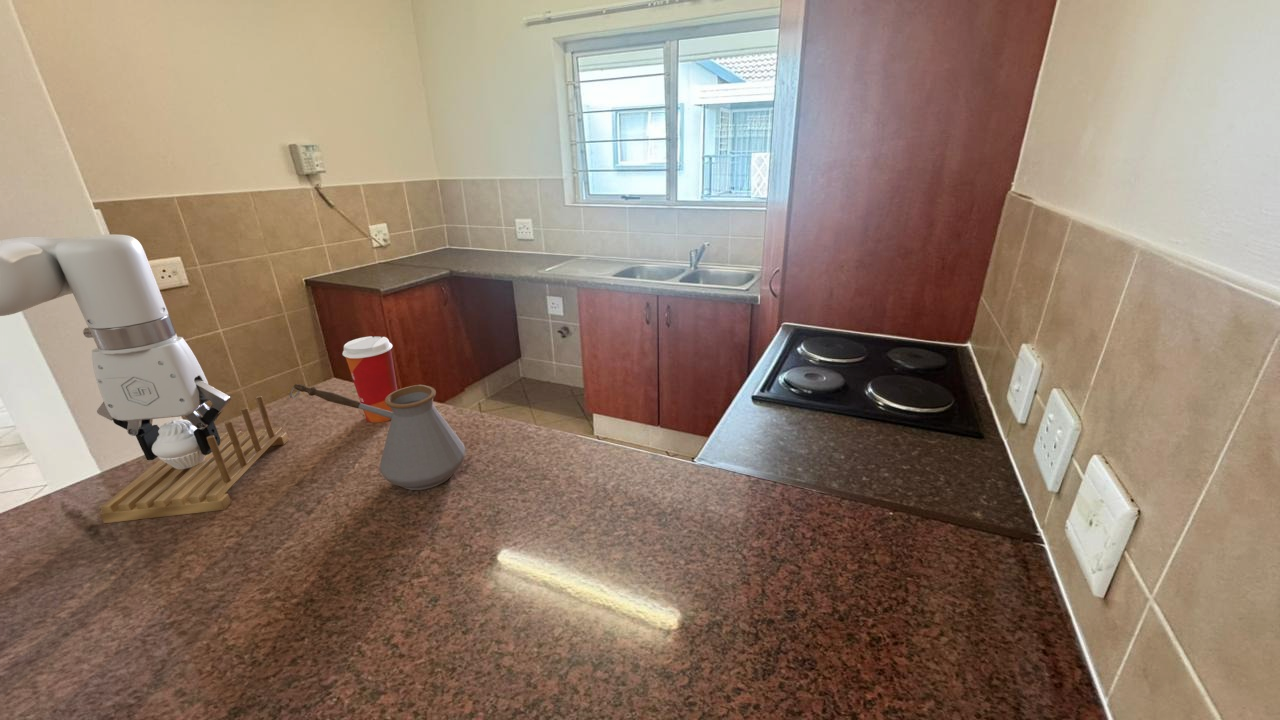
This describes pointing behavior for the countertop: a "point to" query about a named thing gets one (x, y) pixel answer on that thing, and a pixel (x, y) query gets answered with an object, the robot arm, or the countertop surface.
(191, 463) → the muffin
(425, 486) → the coffee pot
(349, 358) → the paper cup
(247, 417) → the rack
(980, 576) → the countertop surface
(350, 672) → the countertop surface
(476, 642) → the countertop surface
